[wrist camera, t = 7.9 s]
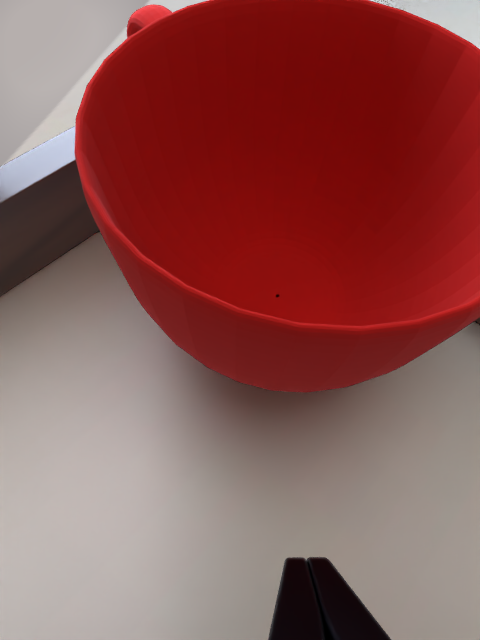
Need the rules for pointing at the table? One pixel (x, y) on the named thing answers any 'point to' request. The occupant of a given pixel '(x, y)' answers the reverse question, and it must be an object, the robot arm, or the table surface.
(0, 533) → the table surface
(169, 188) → the ceramic cup
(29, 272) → the corner guide
